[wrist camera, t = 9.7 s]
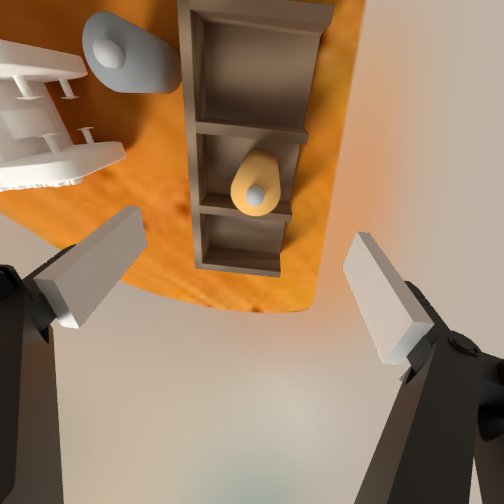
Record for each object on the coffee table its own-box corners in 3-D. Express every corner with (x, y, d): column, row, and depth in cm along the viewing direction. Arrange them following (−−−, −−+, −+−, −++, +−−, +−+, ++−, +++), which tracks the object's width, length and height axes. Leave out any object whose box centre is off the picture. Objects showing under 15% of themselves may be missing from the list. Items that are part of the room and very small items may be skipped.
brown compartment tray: (196, 11, 22) (175, -11, 17) (320, 24, 22) (334, 4, 17) (204, 246, 37) (195, 268, 33) (278, 254, 37) (279, 277, 32)
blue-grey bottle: (135, 36, 23) (60, 2, 15) (180, 41, 23) (129, 9, 15) (144, 91, 26) (83, 89, 18) (184, 95, 26) (142, 95, 18)
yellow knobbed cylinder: (240, 185, 30) (228, 219, 22) (242, 147, 27) (228, 168, 19) (275, 188, 30) (277, 223, 21) (280, 150, 27) (284, 173, 19)
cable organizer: (99, 54, 24) (-11, 28, 15) (136, 159, 30) (74, 188, 21) (-22, 72, 26) (-192, 58, 17) (35, 168, 32) (-66, 199, 22)
